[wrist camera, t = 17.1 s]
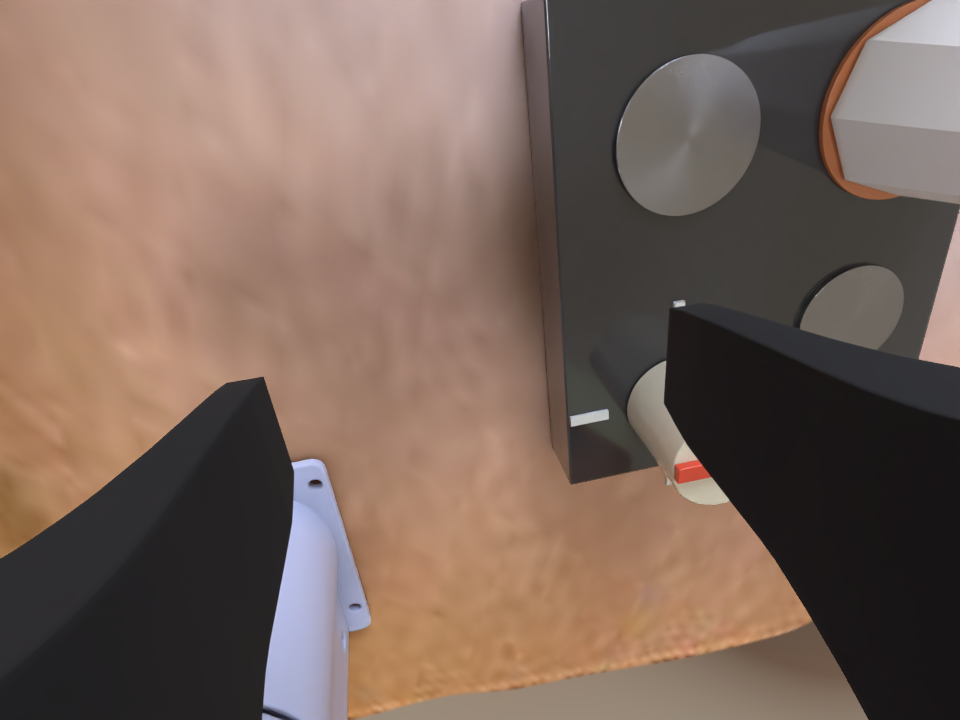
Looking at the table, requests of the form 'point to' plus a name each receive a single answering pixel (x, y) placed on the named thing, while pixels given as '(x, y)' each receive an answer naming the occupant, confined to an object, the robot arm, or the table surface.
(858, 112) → the pepper shaker
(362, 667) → the table surface
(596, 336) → the hob
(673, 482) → the hob knob
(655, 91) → the burners
